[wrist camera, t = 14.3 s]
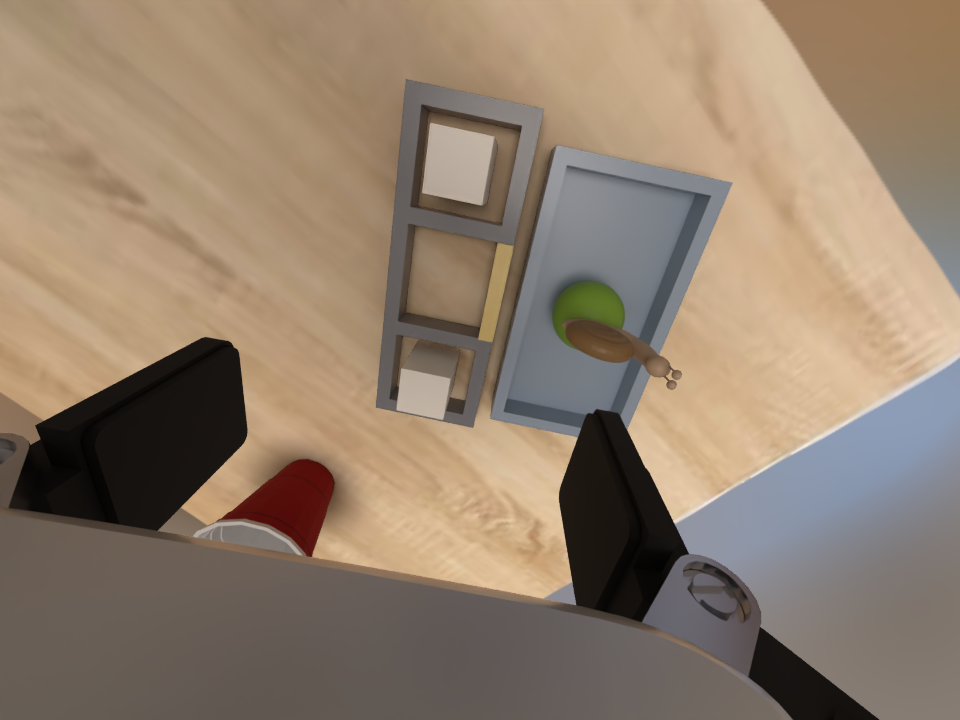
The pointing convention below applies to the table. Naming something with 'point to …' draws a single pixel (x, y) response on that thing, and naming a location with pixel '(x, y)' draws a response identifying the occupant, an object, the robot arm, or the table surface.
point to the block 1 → (427, 380)
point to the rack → (410, 214)
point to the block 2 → (459, 164)
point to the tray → (606, 259)
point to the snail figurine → (603, 329)
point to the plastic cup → (279, 512)
